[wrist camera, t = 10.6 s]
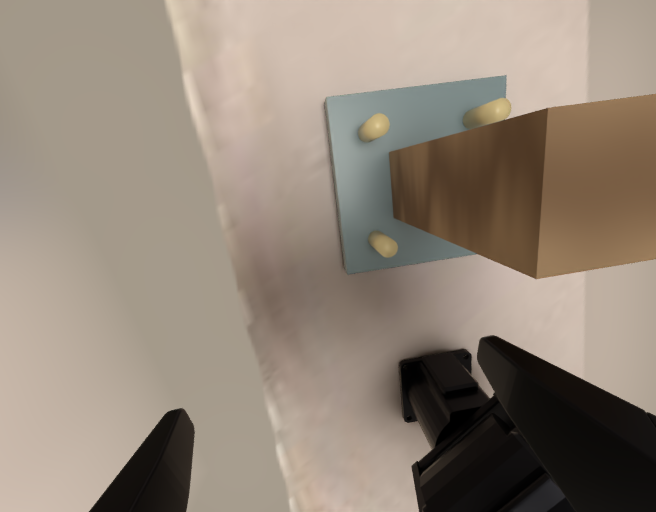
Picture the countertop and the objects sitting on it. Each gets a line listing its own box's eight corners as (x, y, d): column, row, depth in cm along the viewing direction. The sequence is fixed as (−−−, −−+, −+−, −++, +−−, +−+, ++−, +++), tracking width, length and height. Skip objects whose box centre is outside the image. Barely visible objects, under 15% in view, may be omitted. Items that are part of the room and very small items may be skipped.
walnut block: (453, 208, 21) (679, 254, 9) (393, 217, 21) (536, 278, 8) (452, 143, 20) (714, 86, 7) (388, 152, 20) (548, 107, 7)
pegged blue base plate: (488, 245, 24) (530, 261, 19) (344, 268, 23) (355, 289, 19) (491, 82, 20) (543, 57, 16) (324, 102, 20) (331, 82, 15)
